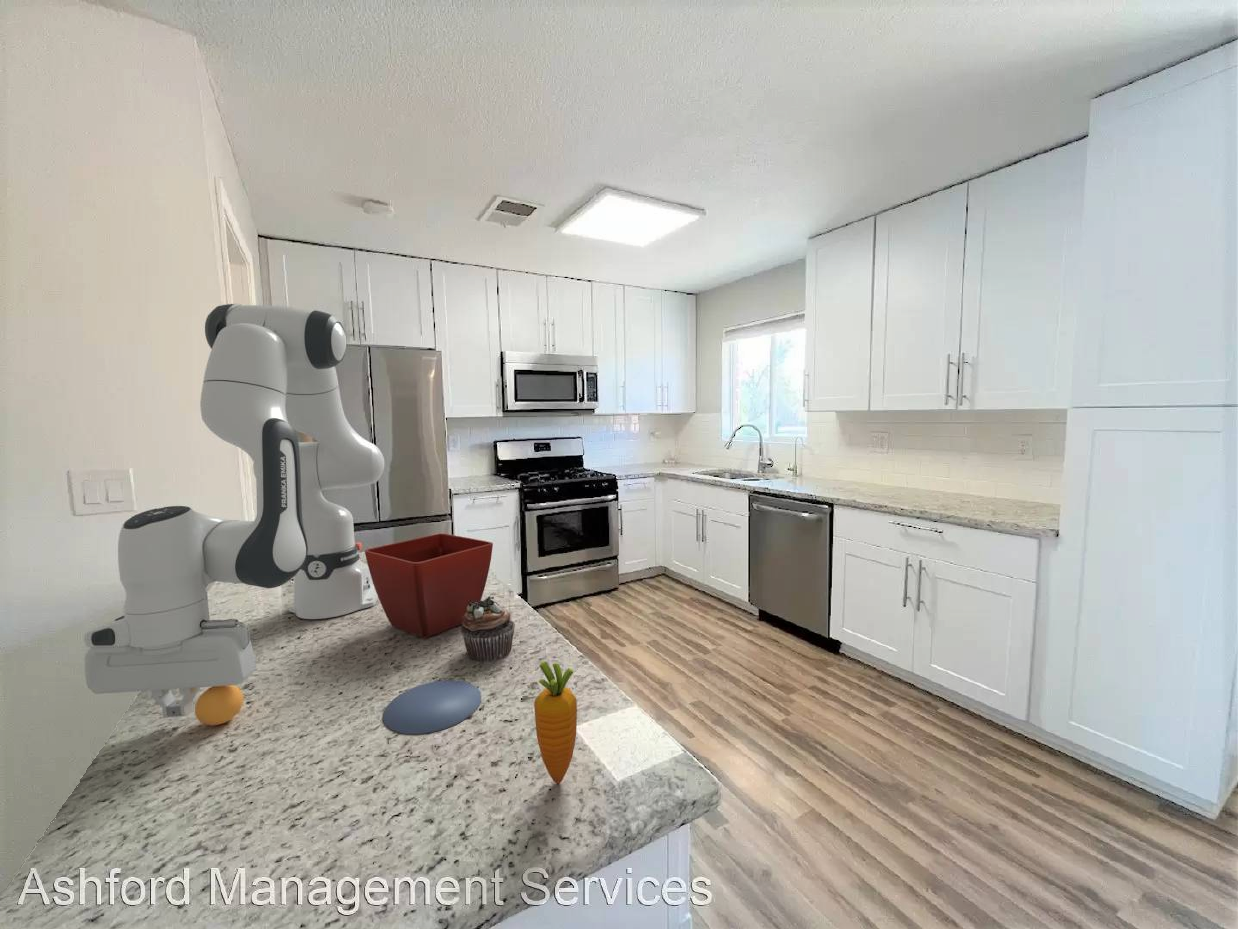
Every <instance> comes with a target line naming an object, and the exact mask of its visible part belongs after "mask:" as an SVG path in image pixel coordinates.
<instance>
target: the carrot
mask: <svg viewBox="0 0 1238 929" xmlns="http://www.w3.org/2000/svg"><path fill="white" fill-rule="evenodd" d="M538 666H539V668H540V669H541V672H542V673H543V674H544V676H545V678H546V680H545V679H544V678H541V679H539V680H538V683H540V684H541V685H542V686H543V687H545V688H544V689H543V690H542V691H541V692H539V694H538V695H537V696H536V697H535V699H534V705H533V706H534V719H535V720H534V721H535V731H536V739H537V743H538V747H539V752H540V755H541V759H542V762H543V763H544V766H545V769H546V770H547V772H548V775H549V776H550V778H551V779H552V781H553V783H555V784H557V785H559V784H560V783H562V781H563V779H564V777H565V776H566V774H567V771H568V770H569V767H570V765H571V763H572V762H571V761H572V759H573V755H574V750H575V746H576V745H575V744H576V739H577V738H576V737H577V723H578V721H577V720H578V716H577V715H578V714H577V713H578V712H577V711H578V710H577V709H578V706H577V705H578V702H577V698H576V696H575V695H574V692H573V691H572V690H571V689H570V688H569V687H566V685H567V683H568V682H569V679H570V677H571V676H572V675H573V674H574V670H573V669H572V668H569V667H568V668H567V669H566V670H565V672H564V673H562V668H561V664H559V663H557V662H554V663H553V664H552V667H553V671H554V673H553V671H552V669H551V667H550V665H549V664H548V662H547V661H546V660H543V661H541V662H540V664H539V665H538Z"/></svg>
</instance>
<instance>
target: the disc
mask: <svg viewBox="0 0 1238 929" xmlns="http://www.w3.org/2000/svg"><path fill="white" fill-rule="evenodd" d="M481 701H482V693H481V691H480V689H479V688H478V687H477V686H475V684H472V683H470V682H468V681H467V682H466V681H462V680H456V679H453V680H452V679H446V680H437V681H432V682H431V681H430V682H426V683H422V684H420V685H417V686H415V687H411V688H409V689H407V690H405V691H403V693H400V694H399V695H397V696H396V697H394V698H393V699H392V700H391V701H389V703H388V704H387V706H386V707H385V708H384V711H383V715H382V716H383V717H382V719H383V722H384V725H385V726H387V728H388V729H389V730H391V731H394V732H396V733H400V734H406V735H422V734H431V733H436V732H439V731H443V730H446V729H449V728H452V727H453V726H455V725H457V724H459V723H461V722H463V721H465V720H466V719H468V718H469V717H471V715H473V714H474V713H475V712H476V711H477V710H478V708H479V707H480V705H481Z"/></svg>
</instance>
